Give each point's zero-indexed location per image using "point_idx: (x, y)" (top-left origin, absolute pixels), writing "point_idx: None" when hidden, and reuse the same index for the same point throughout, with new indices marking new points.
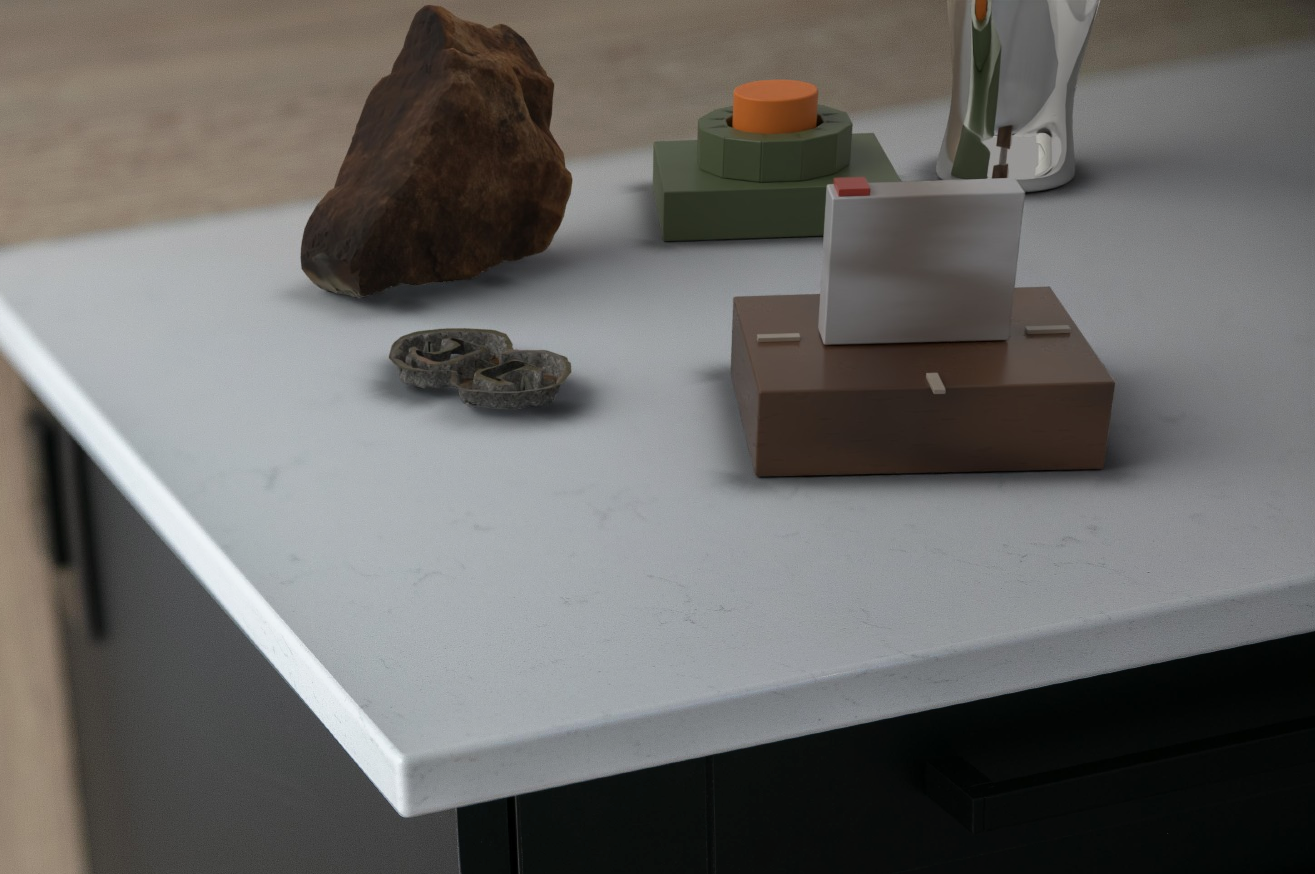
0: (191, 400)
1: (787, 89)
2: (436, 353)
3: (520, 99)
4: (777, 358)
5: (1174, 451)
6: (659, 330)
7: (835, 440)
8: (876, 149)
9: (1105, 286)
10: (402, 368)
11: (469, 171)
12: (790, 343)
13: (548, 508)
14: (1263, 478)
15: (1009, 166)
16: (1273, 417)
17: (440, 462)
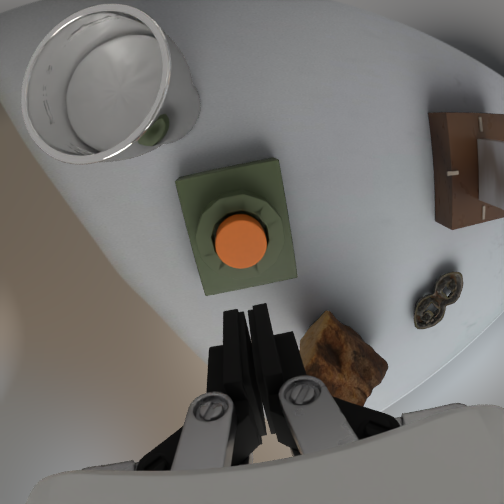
0: (427, 363)
1: (241, 238)
2: (433, 314)
3: (351, 358)
4: (493, 212)
5: (475, 90)
6: (396, 251)
7: None
8: (211, 176)
9: (342, 70)
10: (441, 319)
11: (373, 352)
12: (485, 208)
13: (495, 258)
14: (485, 73)
15: (197, 103)
16: (452, 53)
17: (473, 291)
